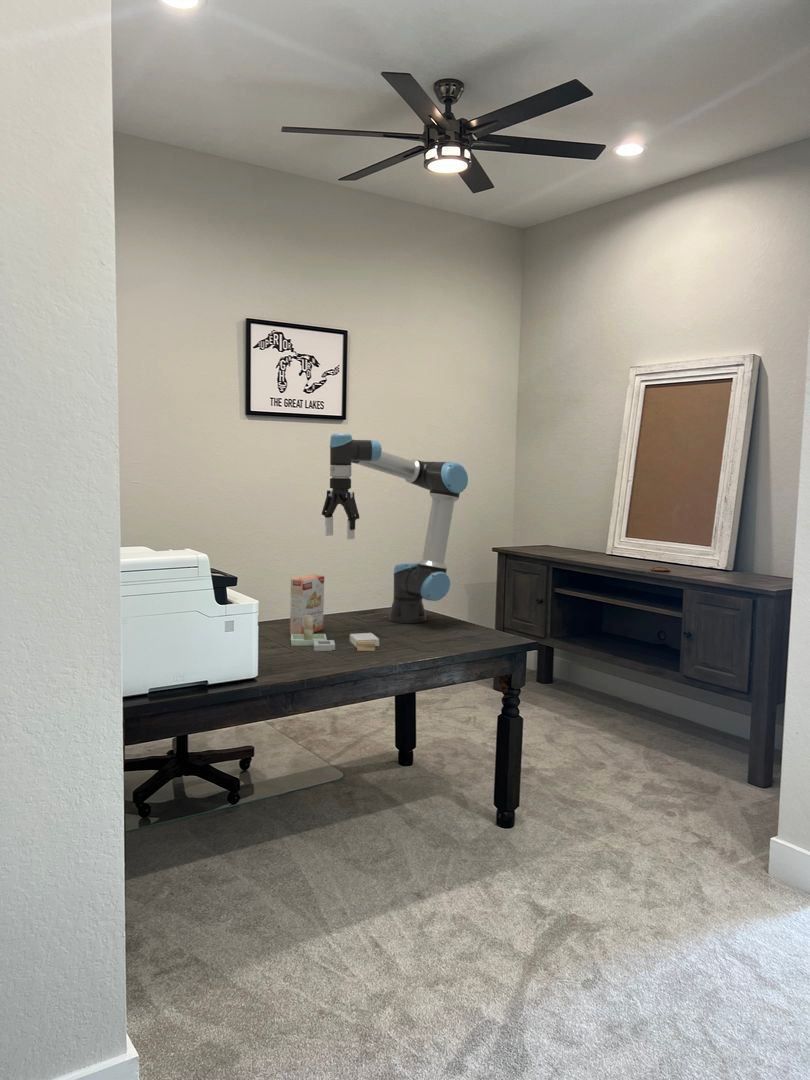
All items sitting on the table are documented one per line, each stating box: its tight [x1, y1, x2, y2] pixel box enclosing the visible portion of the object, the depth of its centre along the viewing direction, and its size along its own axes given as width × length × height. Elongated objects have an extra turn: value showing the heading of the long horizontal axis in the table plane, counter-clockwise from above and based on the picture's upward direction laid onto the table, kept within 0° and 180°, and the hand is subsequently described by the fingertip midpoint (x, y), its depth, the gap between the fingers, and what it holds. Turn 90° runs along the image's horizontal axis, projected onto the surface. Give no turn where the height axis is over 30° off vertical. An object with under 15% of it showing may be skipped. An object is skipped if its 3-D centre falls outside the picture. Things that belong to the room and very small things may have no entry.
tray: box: [290, 633, 328, 647], centre depth 274 cm, size 9×12×2 cm
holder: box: [312, 639, 336, 652], centre depth 267 cm, size 7×7×2 cm
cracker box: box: [289, 574, 325, 635], centre depth 289 cm, size 14×6×21 cm, turn 152°
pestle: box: [304, 615, 314, 640], centre depth 274 cm, size 3×3×9 cm
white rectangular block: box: [349, 632, 380, 648], centre depth 275 cm, size 10×8×3 cm
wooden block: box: [355, 641, 376, 652], centre depth 267 cm, size 4×6×2 cm, turn 99°
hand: (339, 537), depth 278 cm, fingers open, 13 cm apart
